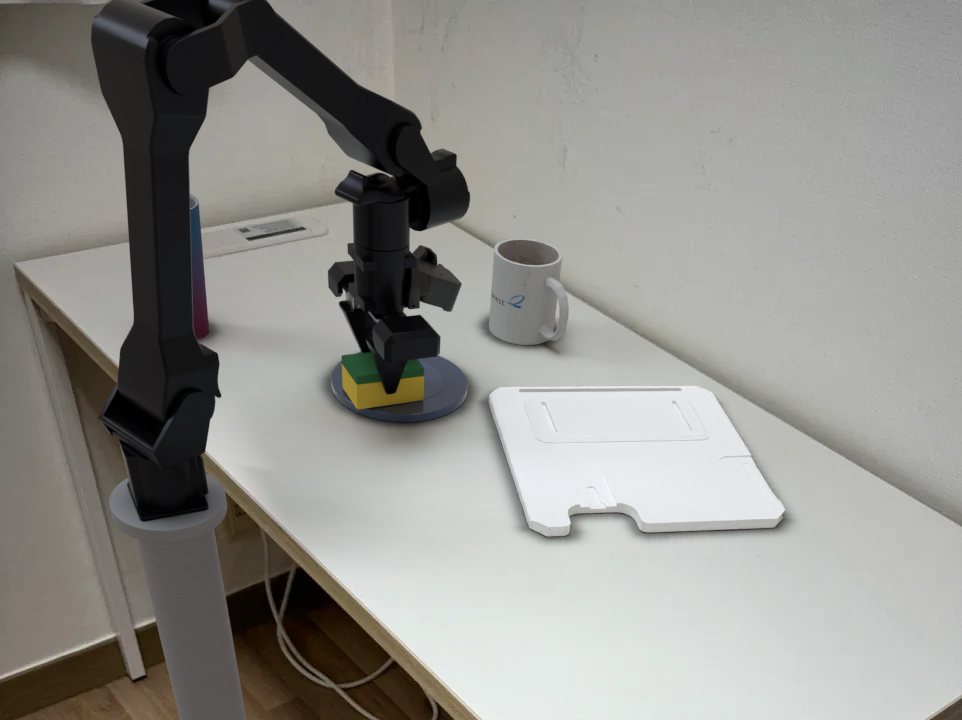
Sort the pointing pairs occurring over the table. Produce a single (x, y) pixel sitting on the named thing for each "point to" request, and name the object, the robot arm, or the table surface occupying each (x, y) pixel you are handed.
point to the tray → (630, 458)
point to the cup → (198, 273)
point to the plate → (440, 398)
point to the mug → (527, 292)
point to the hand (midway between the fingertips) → (382, 382)
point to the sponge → (379, 382)
